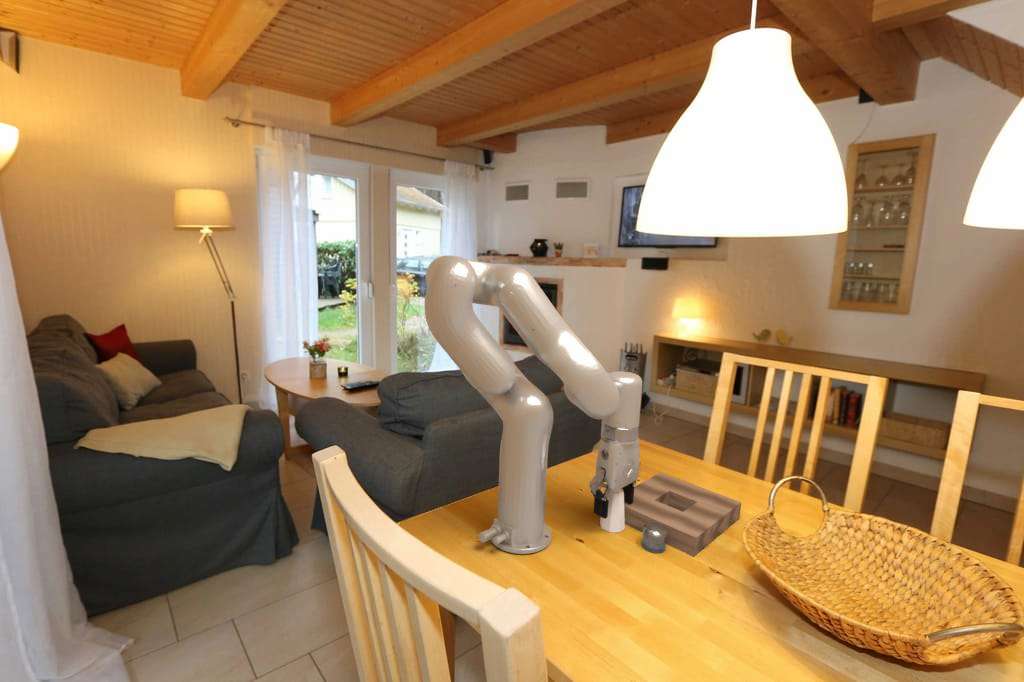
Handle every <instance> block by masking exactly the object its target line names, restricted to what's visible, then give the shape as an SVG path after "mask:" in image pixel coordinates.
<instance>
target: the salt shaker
mask: <svg viewBox="0 0 1024 682" xmlns="http://www.w3.org/2000/svg"><path fill="white" fill-rule="evenodd" d="M607 500H609V504H608V517H607V518H605V519H604V518H602V517H600V521H599V525H600V528H601V529H602V530H604V531H606V532H608V533H611V534H612V533H613V534H615V533H616V534H620V533H621V532H622V531H624V530H626V529H625V528H626V526H625V525H626V524H625V517H624V492H623V489H622V488H621V489H619V490H616V491H612V490H611V491H610V493H609V495H608V497H607Z"/></svg>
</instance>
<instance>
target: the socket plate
mask: <svg viewBox="0 0 1024 682" xmlns="http://www.w3.org/2000/svg"><path fill="white" fill-rule="evenodd" d="M741 507H742V502H741V501H739V500H736V499H733V498H731V497H728V496H725V495H723V494H720V493H717V492H714V491H712V490H709V489H706V488H705V487H702V486H698V485H696V484H693V483H690V482H687V481H686V480H682V479H679V478H677V477H674V476H671V475H669V474H666V473H664V472H659V473H656V475H653V476H651V477H649V478H648V479H646V480H644V481H642V482H640V483H639V484H635V486H634V498H633V503H632V504H630V503H627V502H625V501H624V517H625V525H626V526H628V527H631V528H633V529H635V530H636V531H639V532H641V533H643V527H644V525H645V524H647V523H657V524H660V525H663V526H664V527H665V528H666V529H667V540H666V545H669V546H670V547H673V548H675V549H676V550H678V551H681V552H682V553H685V554H687V555H690V556H691V557H693V558H694V557H696V555H698V554H699V553H700V552H701V551H703V550H704V549H705V548H706V547H707V546H708V545H710V544H711V543H712V542H714V540H716V539H717V538H718V537H719V536H720V535H723V533H724V532H725V531H726V530H728V529H729V528H730V527H731V526H733V525H735V523H736V522H737V521H739V520H740V516H741Z"/></svg>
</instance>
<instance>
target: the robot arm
mask: <svg viewBox="0 0 1024 682" xmlns="http://www.w3.org/2000/svg"><path fill="white" fill-rule="evenodd" d="M425 283H426V286H427V288H426V292H425V297H424V315H425V317H424V318H425V321H426V324H427V327H428V329H429V332H430V333H431V334H432V337H433V339H435V341H436V342H437V344H439V346H440V347H441V349H443V350H444V352H445V353H446V354H447V355H448V357H449V358H450V360H452V362H453V363H454V364H455V365H456V366H457V367H458V369H459V370H460V371H461V373H462V374H463V376H464V378H465V379H466V380H467V382H468V383H469V384H470V385H471V386H472V388H474V389H475V390H477V392H478V394H479V393H480V395H481V396H482V397H483V398H484V400H486V402H487V403H488V404H489V405H490V406H491V407H492V409H494V411H495V412H496V413H497V415H498V416H499V417H500V420H501V421H502V424H503V425H502V426H503V429H502V435H501V439H500V440H501V441H500V446H499V447H500V448H499V460H498V461H499V469H498V497H497V499H498V500H497V517H495V518H493V524H491V526H490V528H489V529H486V530H483V531H480V533H478V538H479V541H480V542H481V543H487V542H488V541H490V542H491V543H492V544H493V545H494V546H495V548H498V549H499V550H502V551H504V552H506V553H507V552H508V553H509V554H510V553H511V554H517V555H526V554H527V555H529V554H534V553H537V552H541V551H543V550H545V548H547V547H548V546H549V544H550V543H551V541H552V531H551V529H550V527H549V526H548V525H547V524H546V523H545V518H546V517H545V515H546V514H545V513H546V496H547V494H546V493H547V475H548V457H549V455H548V454H549V448H550V447H549V445H550V439H551V434H552V431H553V424H554V410H553V407H552V404H551V402H550V399H549V398H548V397H547V396H546V394H545V393H544V392H543V391H541V389H539V388H538V387H537V386H536V385H535V384H533V383H532V382H531V381H530V380H529V379H528V378H527V377H526V375H524V374H523V372H522V371H521V370H520V369H519V368H518V366H517V365H516V364H515V362H514V360H513V358H512V356H511V354H510V353H509V352H508V351H507V350H506V348H504V347H503V346H502V345H500V343H499V342H498V341H497V340H496V339H495V338H494V337H493V335H492V334H491V333H490V332H489V330H488V329H487V328H486V327H485V325H484V324H483V322H482V321H481V319H479V317H477V315H476V313H475V311H474V306H473V305H474V304H476V305H483V306H491V307H497V308H498V309H499V310H500V312H501V313H502V314H503V315H504V316H505V318H506V319H507V321H508V322H509V323H510V324H511V326H512V327H513V329H514V330H515V331H516V332H517V334H518V335H519V336H520V338H521V339H522V340H523V342H524V343H525V344H526V346H527V347H528V349H529V350H530V352H532V353H533V354H534V356H536V358H537V359H538V360H539V361H540V362H541V363H543V364H544V365H545V366H547V367H548V368H549V369H550V370H551V371H552V372H553V373H554V374H555V375H557V377H558V378H559V379H560V380H561V381H562V382H563V383H564V384H563V391H564V394H565V396H566V397H567V399H568V400H569V401H570V403H572V404H573V405H574V406H575V407H576V408H579V409H580V410H581V411H582V412H584V413H585V414H586V415H587V416H588V417H590V418H592V419H595V420H601V428H600V430H601V431H600V440H599V446H598V452H597V457H596V465H595V475H594V476H593V477H592V479H590V481H589V484H588V486H589V488H590V492H591V494H592V496H593V498H594V499H593V511H592V513H593V514H594V515H596V516H598V517H600V518H601V517H602V518H604V519H605V518H607V517H608V504H609V500H607V497H608V495H609V493H610V491H611V490H612V491H616V490H619V489H621V488H622V489H623V492H624V501H625V502H627V503H630V504H632V503H633V498H634V486H636V485H637V480H638V478H639V476H640V475H639V474H640V466H641V465H642V464H641V463H642V462H641V461H640V459H641V456H640V452H641V451H640V439H639V427H640V416H641V405H642V396H643V395H642V393H643V392H642V391H643V380H642V377H641V376H640V375H638V374H637V373H634V372H630V371H621V370H620V371H618V370H617V371H612V372H607V371H606V369H605V368H604V367H603V365H602V364H601V363H600V361H599V360H598V359H597V357H596V356H594V354H593V353H592V351H590V349H588V348H587V346H586V345H585V344H584V343H583V342H582V340H581V339H580V338H579V337H578V336H577V334H576V332H574V331H573V329H571V328H570V327H569V325H568V323H566V321H565V320H564V318H563V317H562V316H561V315H560V313H559V312H558V311H557V309H556V307H555V306H554V305H553V303H552V302H551V301H550V299H549V297H548V296H547V295H546V293H545V292H544V290H543V289H542V288H541V286H540V284H538V282H537V281H536V279H535V278H534V277H533V276H532V275H531V274H530V273H529V272H528V271H527V270H526V269H524V268H522V267H519V266H514V265H513V266H512V265H505V264H498V263H497V264H496V263H489V262H483V261H478V260H473V259H468V258H463V257H461V256H458V255H441V256H439V257H436V258H435V259H433V260H432V261H431V262H430V263H429V265H428V267H427V269H426V272H425ZM602 488H604V491H602Z"/></svg>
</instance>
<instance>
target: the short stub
mask: <svg viewBox="0 0 1024 682" xmlns="http://www.w3.org/2000/svg"><path fill="white" fill-rule="evenodd" d="M666 540H667V529H666V528H665V527H664V526H663V525H660V524H657V523H647V524H645V525H644V527H643V532H642V540H641V541H642V542H641V548H643V550H645V551H646V552H648V553H650V554H655V555H657V554H658V555H659V554H663V553H665V551H666V549H667V544H666Z"/></svg>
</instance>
